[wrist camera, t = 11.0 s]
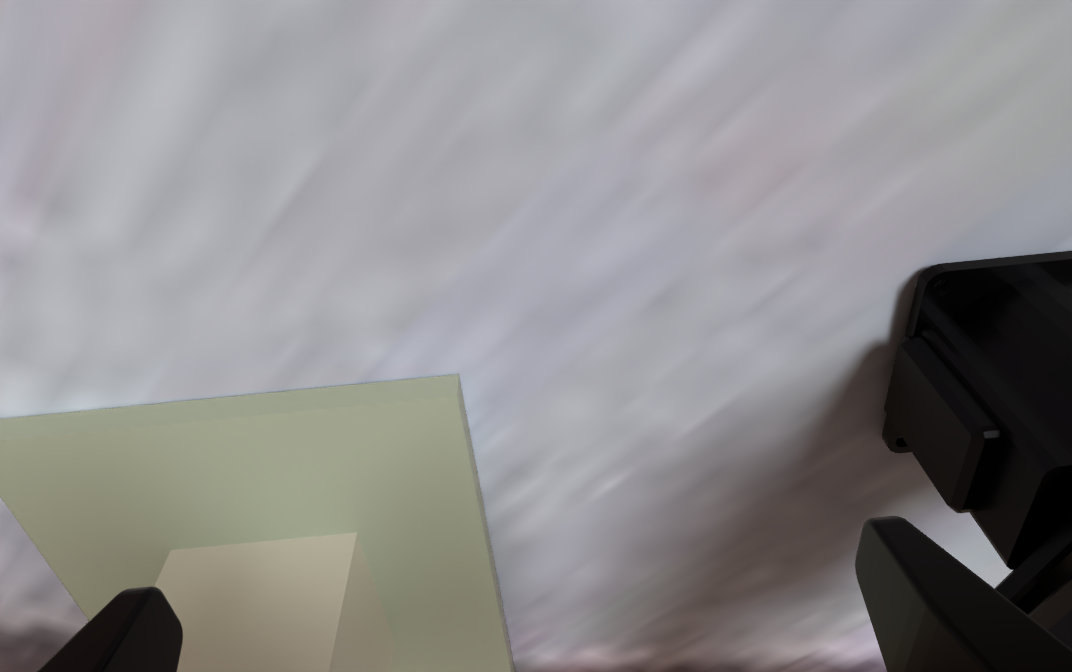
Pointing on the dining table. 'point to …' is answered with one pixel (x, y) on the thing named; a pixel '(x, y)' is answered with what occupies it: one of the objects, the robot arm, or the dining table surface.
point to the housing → (278, 607)
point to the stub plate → (274, 499)
